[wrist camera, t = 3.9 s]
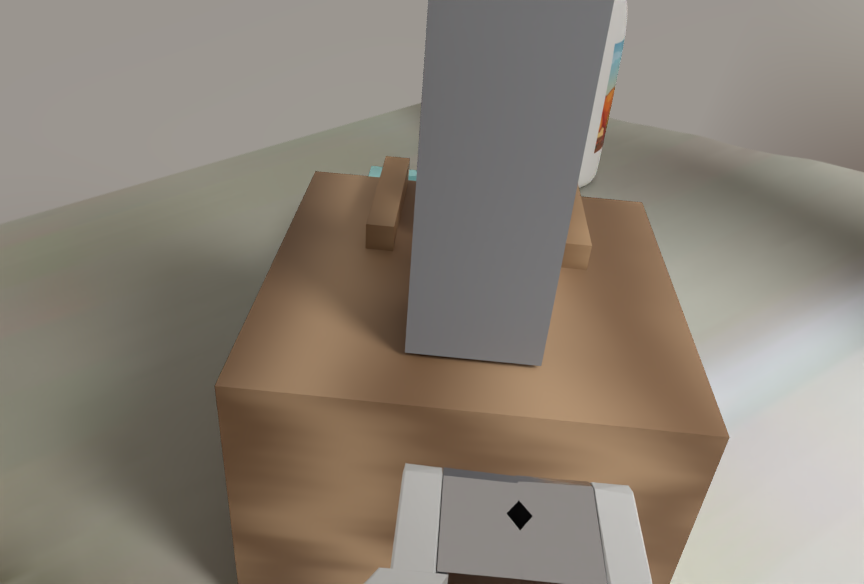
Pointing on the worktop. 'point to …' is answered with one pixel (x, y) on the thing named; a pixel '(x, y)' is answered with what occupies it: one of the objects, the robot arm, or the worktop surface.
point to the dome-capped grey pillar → (498, 170)
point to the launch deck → (449, 388)
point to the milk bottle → (604, 93)
